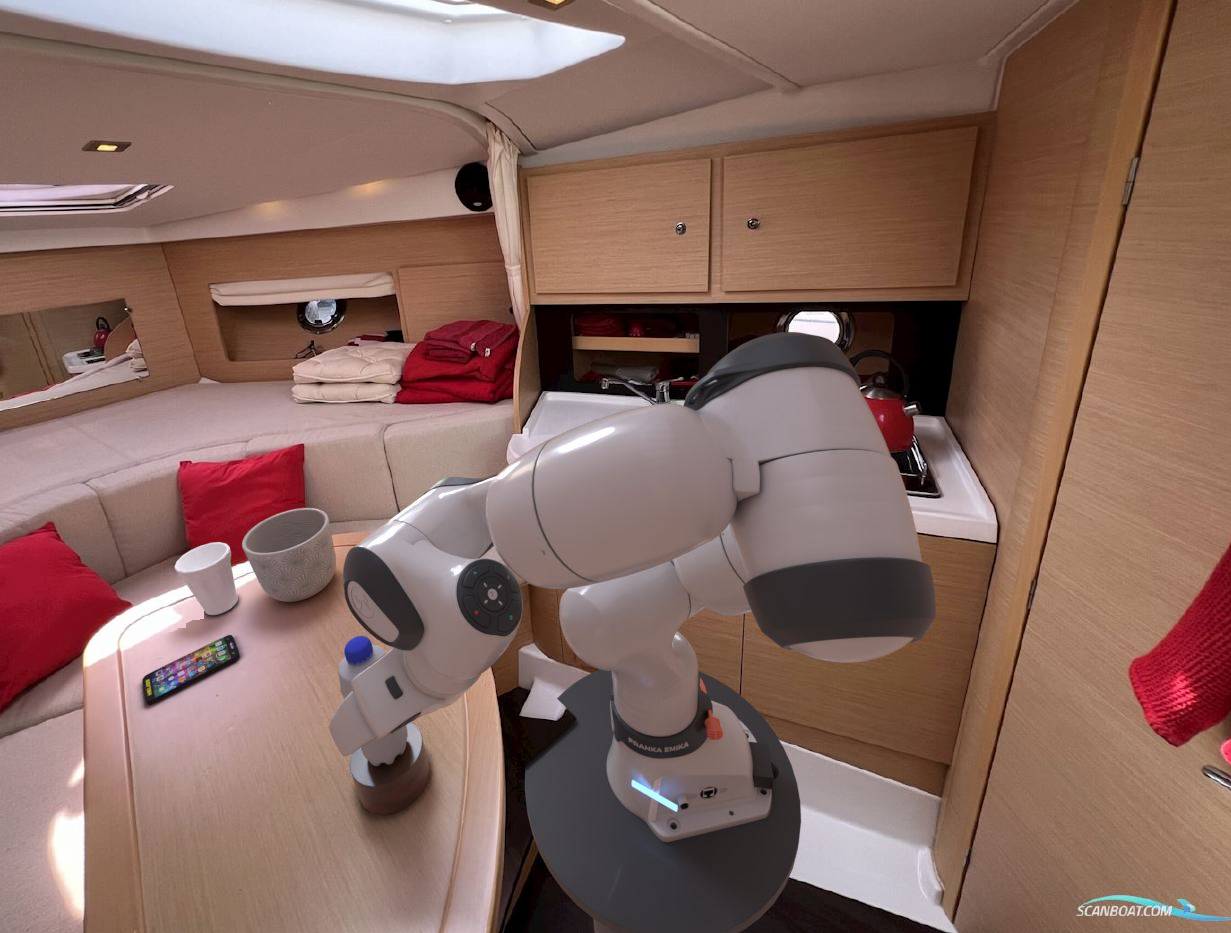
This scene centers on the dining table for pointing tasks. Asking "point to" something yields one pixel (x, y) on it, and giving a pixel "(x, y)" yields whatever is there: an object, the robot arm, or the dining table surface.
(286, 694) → the dining table surface
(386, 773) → the pedestal
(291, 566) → the planter
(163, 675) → the smartphone
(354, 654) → the bottle
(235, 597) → the cup
